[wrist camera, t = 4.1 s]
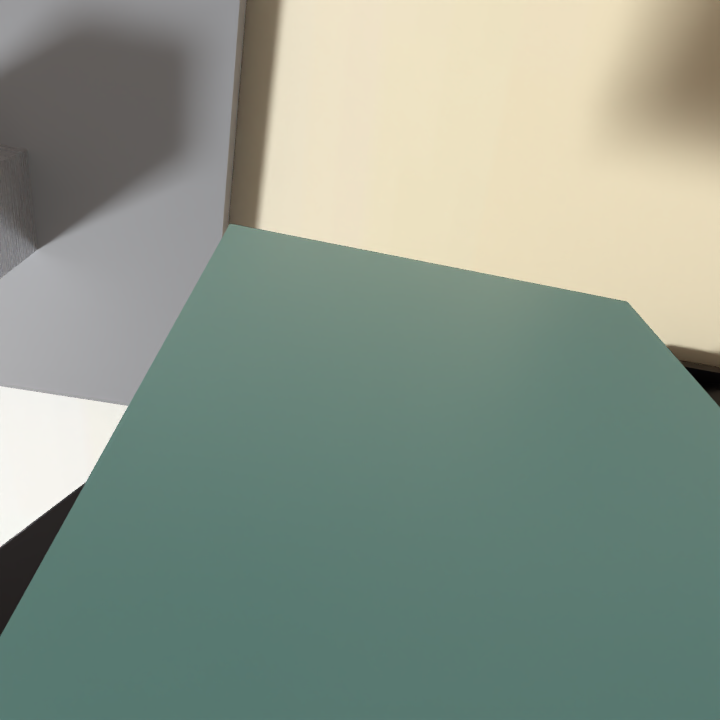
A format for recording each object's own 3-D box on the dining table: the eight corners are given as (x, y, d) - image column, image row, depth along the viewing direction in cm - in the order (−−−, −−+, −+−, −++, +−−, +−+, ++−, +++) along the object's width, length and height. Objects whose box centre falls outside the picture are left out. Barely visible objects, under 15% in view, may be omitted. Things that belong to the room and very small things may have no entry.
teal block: (627, 301, 8) (1139, 889, 3) (497, 558, 12) (628, 1089, 6) (229, 223, 8) (-87, 790, 2) (202, 517, 11) (40, 1069, 5)
